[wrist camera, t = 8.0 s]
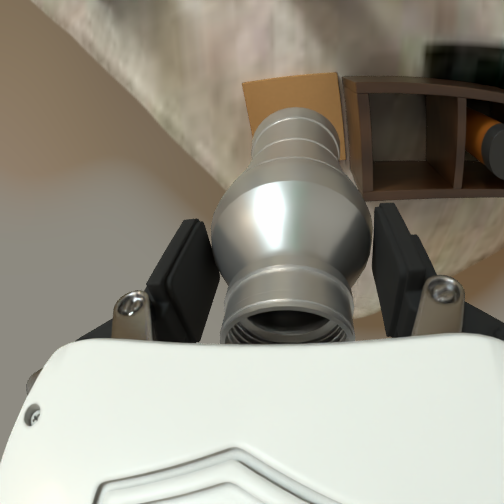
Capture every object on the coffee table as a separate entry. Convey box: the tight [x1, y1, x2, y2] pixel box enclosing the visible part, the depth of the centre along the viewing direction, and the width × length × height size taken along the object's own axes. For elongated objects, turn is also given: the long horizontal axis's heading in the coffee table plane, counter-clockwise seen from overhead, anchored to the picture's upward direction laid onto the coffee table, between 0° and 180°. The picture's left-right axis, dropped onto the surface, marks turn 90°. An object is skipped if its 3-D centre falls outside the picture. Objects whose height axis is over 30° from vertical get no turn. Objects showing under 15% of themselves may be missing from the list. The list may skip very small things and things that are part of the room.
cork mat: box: [242, 72, 346, 160], centre depth 30 cm, size 10×10×1 cm
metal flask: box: [211, 107, 373, 344], centre depth 16 cm, size 6×7×20 cm
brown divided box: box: [342, 76, 504, 201], centre depth 24 cm, size 11×20×8 cm, turn 100°
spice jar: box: [465, 107, 504, 180], centre depth 23 cm, size 5×5×10 cm
